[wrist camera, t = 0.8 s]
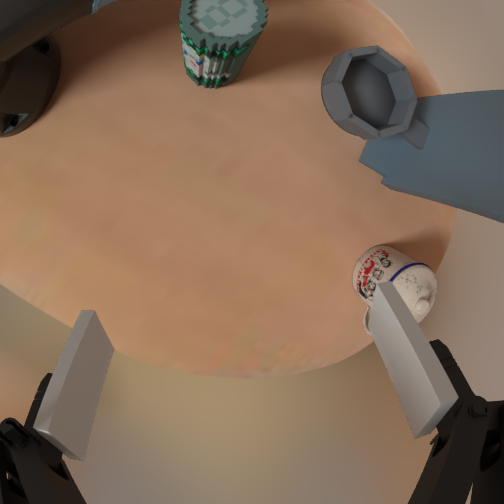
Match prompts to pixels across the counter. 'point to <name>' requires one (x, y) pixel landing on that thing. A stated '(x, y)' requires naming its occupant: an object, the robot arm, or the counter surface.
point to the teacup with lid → (395, 280)
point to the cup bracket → (420, 132)
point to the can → (219, 37)
